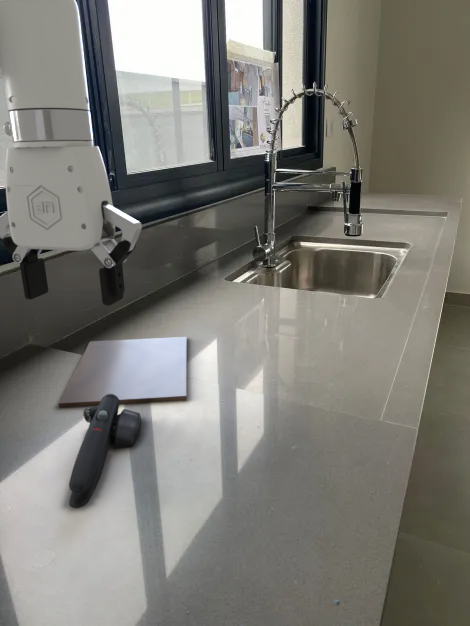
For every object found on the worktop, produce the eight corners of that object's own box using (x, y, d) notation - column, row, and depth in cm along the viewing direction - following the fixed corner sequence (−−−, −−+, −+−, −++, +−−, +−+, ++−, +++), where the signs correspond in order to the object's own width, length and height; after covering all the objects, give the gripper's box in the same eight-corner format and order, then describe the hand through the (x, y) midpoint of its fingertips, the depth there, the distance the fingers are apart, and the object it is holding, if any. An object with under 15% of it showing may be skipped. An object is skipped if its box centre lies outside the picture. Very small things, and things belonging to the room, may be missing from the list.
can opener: (96, 424, 67) (91, 386, 65) (146, 424, 67) (143, 386, 65) (42, 516, 50) (34, 468, 49) (110, 517, 50) (104, 469, 48)
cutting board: (59, 413, 70) (58, 403, 70) (90, 348, 93) (89, 341, 92) (187, 405, 72) (186, 396, 71) (187, 343, 94) (186, 336, 94)
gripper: (-48, 134, 48) (-16, 303, 53) (109, 127, 43) (128, 315, 48) (7, 135, 55) (31, 285, 60) (149, 130, 50) (161, 294, 55)
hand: (74, 298), depth 54 cm, fingers open, 9 cm apart
